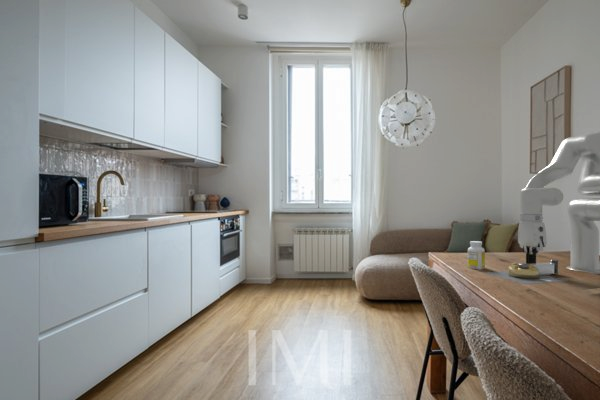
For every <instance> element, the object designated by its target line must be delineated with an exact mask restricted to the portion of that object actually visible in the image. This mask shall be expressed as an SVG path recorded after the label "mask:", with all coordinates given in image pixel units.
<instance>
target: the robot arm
mask: <svg viewBox="0 0 600 400" xmlns="http://www.w3.org/2000/svg"><path fill="white" fill-rule="evenodd" d="M579 160H581V169H580V174H579V178H578V182H577V192H578V193H579V194H580V195H582V196H585V197H579V198H574V199H572V200H570V201H569V203H568V205H567V213H568V217H569V223H570V225H569V227H570V265H568V266H566V269H567V270H573V271H578V272H582V273H588V274H593V275H600V230H599V227H598V225H597V224H596V223H595V222H600V130H599V131H595V132H594V131H593V132H592V131H591V132H588V133H583V134H579V135H575V136H569V137H567V138H564V139H563V140H562V141H561V143H560V144H559V146H558V147H557V150H556V151H555V154H554V155H553V157H552V159H551V161H550V163H549V164H548V165H547V166H546V167H544V168H542V170H540V171H538V172H537V173H536V174H535V175H534V176H533V177H532V178H530V180H529V181H528V183H527V185H526V187H524V188H522V189H520V193H519V200H520V201H519V202H520V203H519V214H520V215H519V216H520V217H519V218H520V219H519V224H518V231H517V243H518V244H519V248H521V249H523V250H524V253H525V263H526V264H535V263H537V255H538V253H539V252H541V251H542V252H543V251H544V248H545V247H546V248H547V245H548V244H547V231H546V226H545V222H543V220H544V216H543V207H554V206H558V205H560V204H561V203H562V202H563V200H564V194H563V191H562V190H560V189H559V188H556V187H546V186H548V185H549V184H551V183H553V182H556V181H558V180H561V179H563V178H566V177H568V176H569V175H571V174H572V173H573V172H574V170H575V167H576V166H577V164H578V162H579ZM594 221H595V222H594Z"/></svg>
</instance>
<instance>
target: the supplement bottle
mask: <svg viewBox="0 0 600 400" xmlns="http://www.w3.org/2000/svg"><path fill="white" fill-rule="evenodd" d="M469 245H470V247H468V248H467V269H472V270H485V269H486V259H485V258H486V256H485V255H486V250H485V248H484V247H482V246H483V241H479V240H477V241H476V240H470V241H469Z"/></svg>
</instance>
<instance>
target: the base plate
mask: <svg viewBox="0 0 600 400" xmlns="http://www.w3.org/2000/svg"><path fill="white" fill-rule="evenodd" d="M482 273H483V274H485V275H490V276H492V277H493V276H494V277H498V278H501V279H505V280H508V281H511V282H515V283H518V284H519V283H520V284H523V285H532V284H544V283H545V284H547V283H558V282H559V283H560V282H569V281H570V280H568V279H565V278H559V277H555V276H551V275H548V274H541V275H539V278H537V279H525V278H517V277H512V276H510V275H508V270H500V271H486V272H485V271H484V272H482Z"/></svg>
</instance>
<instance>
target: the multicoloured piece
mask: <svg viewBox="0 0 600 400" xmlns="http://www.w3.org/2000/svg"><path fill="white" fill-rule="evenodd" d="M507 271H508V275H510V276H512V277H517V278H525V279H537V278H539V275H541V274H542V275H553V274H554V275H555V274H556V275H557V274H559V260H556V259H550V260H549V262H538V263H537V262H536V263H535V264H527V263H526V262H510V265H509V266H508V270H507Z"/></svg>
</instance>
